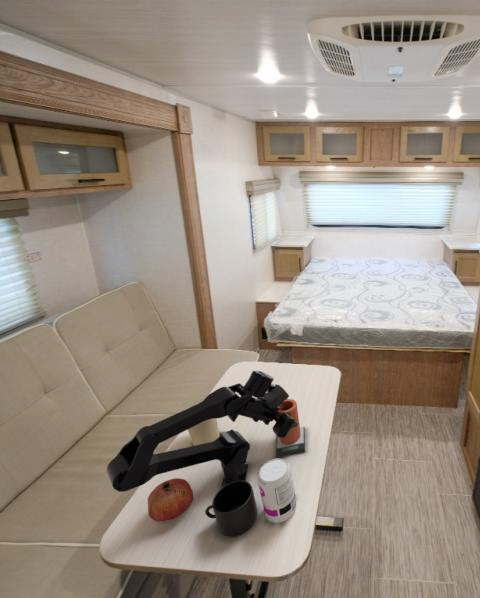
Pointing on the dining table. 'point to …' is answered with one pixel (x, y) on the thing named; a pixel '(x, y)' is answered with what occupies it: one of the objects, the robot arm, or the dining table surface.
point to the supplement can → (277, 490)
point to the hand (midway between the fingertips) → (291, 419)
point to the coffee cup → (204, 432)
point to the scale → (291, 446)
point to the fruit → (169, 500)
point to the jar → (291, 408)
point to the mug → (234, 508)
